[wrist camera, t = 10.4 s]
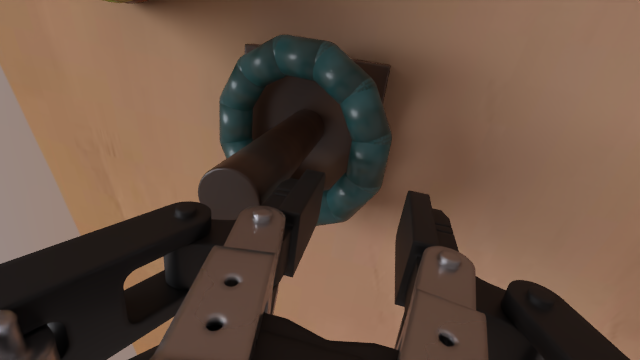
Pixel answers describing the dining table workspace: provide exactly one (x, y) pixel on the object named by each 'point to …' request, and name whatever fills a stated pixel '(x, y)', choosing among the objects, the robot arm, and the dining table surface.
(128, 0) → the sauce bottle
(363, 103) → the ring
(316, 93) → the peg stand
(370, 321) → the dining table surface
